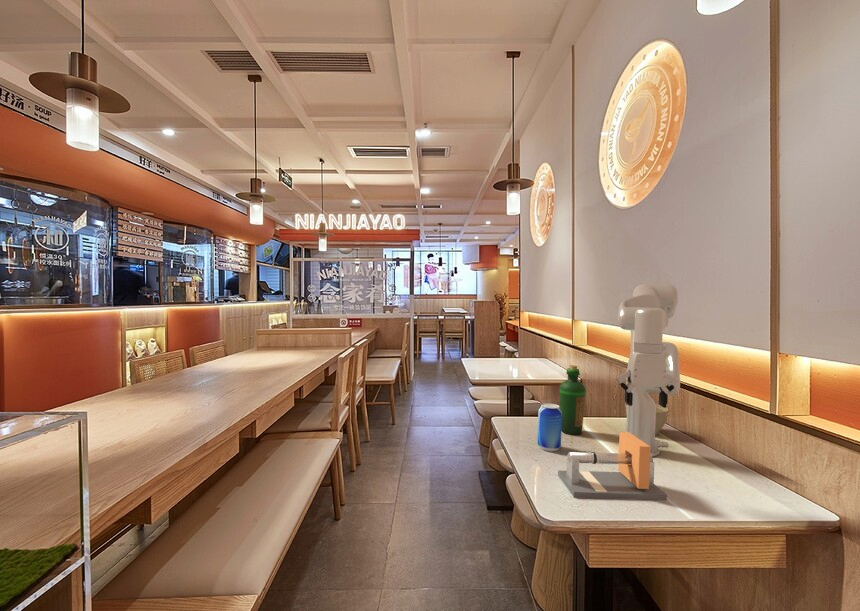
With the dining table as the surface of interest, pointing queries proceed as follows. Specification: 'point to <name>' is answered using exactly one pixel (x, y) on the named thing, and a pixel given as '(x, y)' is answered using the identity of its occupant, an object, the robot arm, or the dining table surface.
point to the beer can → (549, 427)
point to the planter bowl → (659, 417)
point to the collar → (635, 460)
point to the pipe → (599, 458)
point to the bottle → (572, 402)
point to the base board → (608, 486)
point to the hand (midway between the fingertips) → (645, 405)
